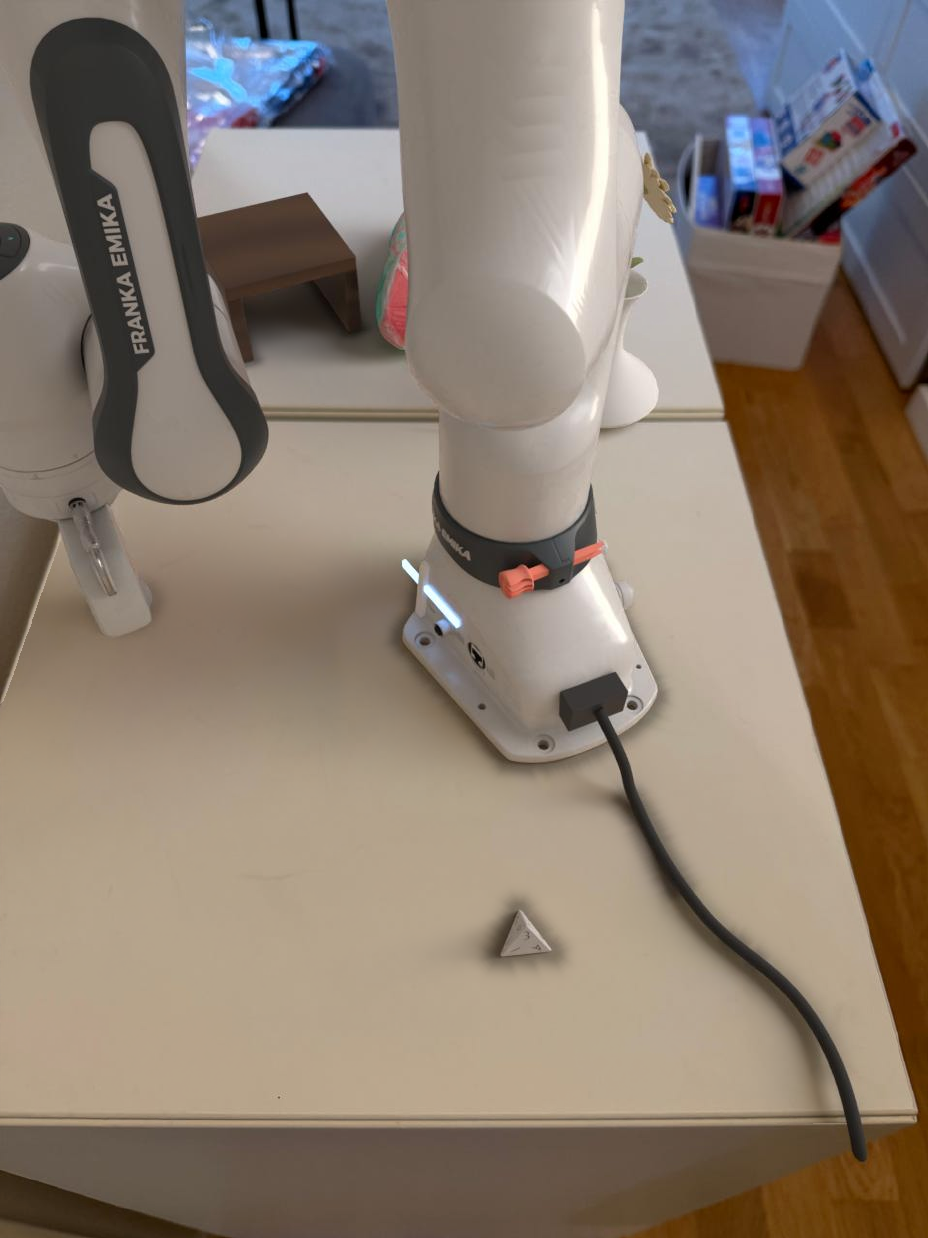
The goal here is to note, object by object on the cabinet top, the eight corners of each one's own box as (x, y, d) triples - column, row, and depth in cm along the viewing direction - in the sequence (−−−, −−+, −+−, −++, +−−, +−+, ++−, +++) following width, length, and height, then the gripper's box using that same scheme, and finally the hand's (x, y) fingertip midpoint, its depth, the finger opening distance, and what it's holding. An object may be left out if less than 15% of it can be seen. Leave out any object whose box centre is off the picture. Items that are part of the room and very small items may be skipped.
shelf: (362, 329, 102) (355, 255, 95) (240, 364, 98) (224, 289, 91) (316, 264, 110) (307, 191, 103) (202, 294, 106) (184, 220, 99)
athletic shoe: (434, 230, 116) (369, 161, 108) (493, 196, 111) (429, 122, 103) (408, 401, 106) (333, 340, 97) (471, 374, 100) (398, 306, 92)
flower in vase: (661, 440, 92) (721, 199, 72) (547, 437, 92) (575, 195, 72) (648, 358, 100) (698, 120, 80) (543, 355, 100) (567, 116, 80)
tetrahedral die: (535, 976, 62) (553, 971, 59) (499, 956, 62) (515, 949, 59) (553, 929, 64) (571, 921, 61) (518, 909, 63) (535, 900, 61)
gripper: (144, 543, 60) (190, 662, 72) (74, 365, 71) (124, 491, 82) (45, 575, 59) (109, 692, 70) (-10, 387, 70) (52, 514, 81)
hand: (117, 582), depth 76 cm, fingers closed on rook chess piece, 3 cm apart
